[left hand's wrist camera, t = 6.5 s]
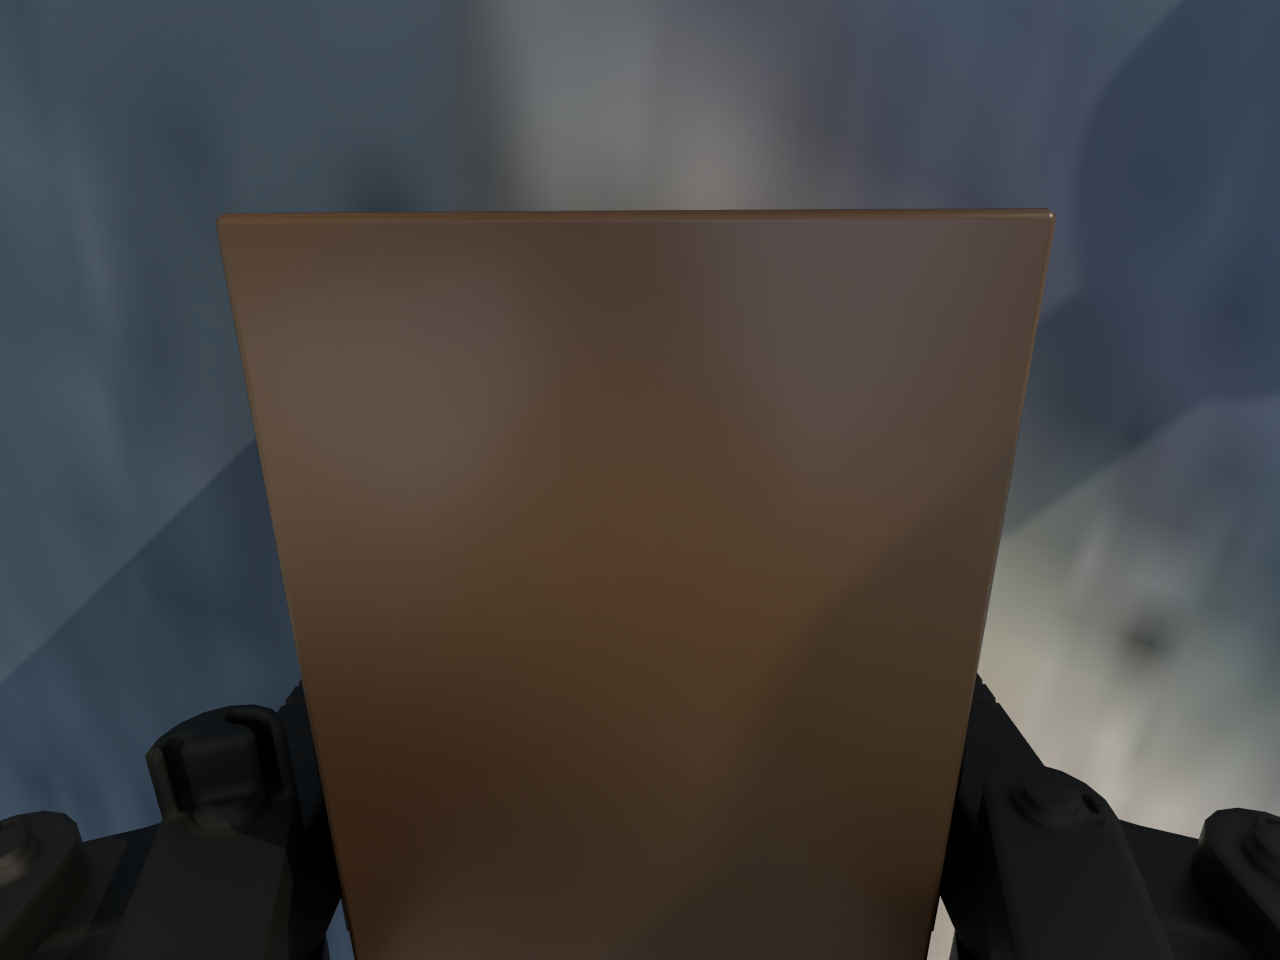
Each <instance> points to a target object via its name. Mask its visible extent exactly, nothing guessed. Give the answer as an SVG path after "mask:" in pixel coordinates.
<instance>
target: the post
mask: <svg viewBox="0 0 1280 960" xmlns="http://www.w3.org/2000/svg"><path fill="white" fill-rule="evenodd" d="M1055 222H1056V219H1055V213H1054V212H1052V211H1050V210H1048V209H1046V208H991V209H808V210H638V211H470V212H312V213H225V214H223V215H221V216H219V217H218V218H217V220H216V229H217V234H218V240H219V245H220V250H221V256H222V261H223V266H224V271H225V277H226V282H227V287H228V293H229V298H230V303H231V308H232V314H233V319H234V324H235V330H236V335H237V340H238V345H239V351H240V356H241V361H242V367H243V372H244V377H245V382H246V388H247V393H248V398H249V404H250V409H251V414H252V419H253V425H254V430H255V435H256V441H257V446H258V451H259V456H260V462H261V467H262V472H263V478H264V483H265V488H266V493H267V499H268V504H269V509H270V515H271V520H272V525H273V530H274V536H275V541H276V546H277V551H278V557H279V562H280V567H281V573H282V578H283V583H284V588H285V594H286V599H287V604H288V610H289V615H290V620H291V625H292V631H293V636H294V641H295V647H296V652H297V657H298V662H299V668H300V673H301V678H302V684H303V689H304V694H305V699H306V705H307V710H308V715H309V721H310V726H311V731H312V736H313V742H314V747H315V752H316V758H317V763H318V768H319V773H320V779H321V784H322V789H323V795H324V800H325V805H326V810H327V816H328V821H329V826H330V832H331V837H332V842H333V847H334V853H335V858H336V863H337V869H338V874H339V879H340V884H341V890H342V895H343V900H344V905H345V911H346V916H347V921H348V927H349V932H350V937H351V942H352V948H353V953H354V958H355V960H927V955H928V949H929V943H930V938H931V932H932V926H933V920H934V915H935V909H936V903H937V898H938V892H939V886H940V880H941V875H942V869H943V863H944V857H945V852H946V846H947V840H948V835H949V829H950V823H951V817H952V812H953V806H954V800H955V795H956V789H957V783H958V777H959V772H960V766H961V760H962V754H963V749H964V743H965V737H966V732H967V726H968V720H969V714H970V709H971V703H972V697H973V692H974V686H975V680H976V674H977V669H978V663H979V657H980V651H981V646H982V640H983V634H984V629H985V623H986V617H987V611H988V606H989V600H990V594H991V588H992V583H993V577H994V571H995V566H996V560H997V554H998V548H999V543H1000V537H1001V531H1002V526H1003V520H1004V514H1005V508H1006V503H1007V497H1008V491H1009V485H1010V480H1011V474H1012V468H1013V463H1014V457H1015V451H1016V445H1017V440H1018V434H1019V428H1020V423H1021V417H1022V411H1023V405H1024V400H1025V394H1026V388H1027V382H1028V377H1029V371H1030V365H1031V360H1032V354H1033V348H1034V342H1035V337H1036V331H1037V325H1038V319H1039V314H1040V308H1041V302H1042V297H1043V291H1044V285H1045V279H1046V274H1047V268H1048V262H1049V257H1050V251H1051V245H1052V239H1053V234H1054V228H1055Z"/></svg>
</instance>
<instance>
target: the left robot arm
mask: <svg viewBox="0 0 1280 960" xmlns="http://www.w3.org/2000/svg"><path fill="white" fill-rule="evenodd" d="M145 758H146V761H147V765H148V768H149V772H150V776H151V779H152V783H153V786H154V790H155V793H156V797H157V800H158V804H159V807H160V811H161V815H162V818H163V819H162V821H161V823H159V824H155V825H152V826H149V827H145V828H142V829H137V830H133V831H129V832H124V833H120V834H116V835H111V836H107V837H103V838H98V839H94V840H90V841H86V842H83V841H82V838H81V835H80V832H79V829H78V826H77V823H76V822H74V821H73V820H72V819H71V818H70V817H68V816H67V815H66V814H64V813H57V812H49V811H40V812H33V813H27V814H20V815H15V816H13V817H10V818H7V819H4V820H1V821H0V960H330V956H329V949H328V943H327V938H326V931H327V929H328V926H329V924H330V922H331V919H332V917H333V915H334V913H335V910H336V908H337V906H338V903H339V901H340V899H341V901H342V906H343V911H344V917H345V922H346V928H347V931H349V927H348V921H347V916H346V911H345V905H344V900H343V895H342V890H341V884H340V879H339V874H338V869H337V863H336V858H335V853H334V847H333V842H332V837H331V832H330V826H329V821H328V816H327V810H326V805H325V800H324V795H323V789H322V784H321V779H320V773H319V768H318V763H317V758H316V752H315V747H314V742H313V736H312V731H311V726H310V721H309V715H308V710H307V705H306V699H305V694H304V689H303V684H302V679H301V680H300V681H299V686H298V687H295V688H294V690H293V691H292V693H291V694H290V695H289V697H288V698H287V700H286V704H285V706H281V708H280V709H279V711H278V712H277V713H276V712H275V711H274V710H273V709H270V708H266V707H262V706H258V705H235V706H227V707H223V708H219V709H215V710H212V711H208V712H204V713H202V714H199V715H197V716H195V717H193V718H191V719H189V720H186V721H184V722H182V723H180V724H178V725H177V726H175V727H174V728H173V729H171V730H170V731H168V732H167V733H166V734H164V735H163V736H161V737H160V738H159V739H158V740H157V741H156V742H155V744H154V745H153V746H152V747H151V749H150V750H149V751H148V752H147V754H146V755H145ZM940 896H941V898H942V901H943V903H944V905H945V908H946V910H947V912H948V914H949V917H950V919H951V921H952V924H953V926H954V928H955V933H954V938H953V943H952V948H951V953H950V958H949V960H1280V817H1279V816H1275V815H1272V814H1270V813H1267V812H1262V811H1256V810H1249V809H1243V808H1232V809H1224V810H1217V811H1216V812H1214V813H1213V814H1212V815H1211V816H1210V817H1208V818H1207V819H1206V820H1205V822H1204V825H1203V828H1202V831H1201V834H1200V837H1199V839H1196V838H1191V837H1187V836H1183V835H1178V834H1174V833H1170V832H1165V831H1161V830H1157V829H1153V828H1148V827H1144V826H1140V825H1136V824H1133V823H1129V822H1126V821H1123V820H1119V819H1118V818H1117V816H1116V815H1115V813H1114V812H1113V810H1112V809H1111V807H1110V806H1109V804H1108V803H1107V801H1106V800H1105V799H1104V798H1103V797H1102V796H1100V795H1099V794H1098V793H1097V792H1095V791H1094V790H1093V789H1092V788H1091V787H1089V786H1088V785H1087V784H1086V783H1084V782H1082V781H1080V780H1078V779H1076V778H1074V777H1072V776H1070V775H1068V774H1066V773H1064V772H1063V771H1060V770H1056V769H1053V768H1049V767H1046V766H1044V765H1043V763H1042V762H1041V760H1040V759H1039V758H1038V756H1037V755H1036V754H1035V752H1034V751H1033V749H1032V748H1031V747H1030V745H1029V744H1028V742H1027V741H1026V740H1025V738H1024V737H1023V736H1022V734H1021V733H1020V731H1019V730H1018V729H1017V727H1016V726H1015V725H1014V723H1013V722H1012V720H1011V719H1010V718H1009V716H1008V715H1007V713H1006V712H1005V711H1004V709H1003V708H1002V707H1001V705H1000V704H999V703H996V701H995V697H994V696H993V694H992V693H991V691H990V690H989V689H988V687H987V686H986V684H982V679H981V678H980V676H979V675H978V673H977V674H976V680H975V686H974V692H973V697H972V703H971V709H970V714H969V720H968V726H967V732H966V737H965V743H964V749H963V754H962V760H961V766H960V772H959V777H958V783H957V789H956V795H955V800H954V806H953V812H952V817H951V823H950V829H949V835H948V840H947V846H946V852H945V857H944V863H943V869H942V875H941V880H940V886H939V892H938V898H937V903H936V909H935V915H934V920H933V926H932V931H934V925H935V920H936V914H937V909H938V904H939V898H940Z"/></svg>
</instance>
